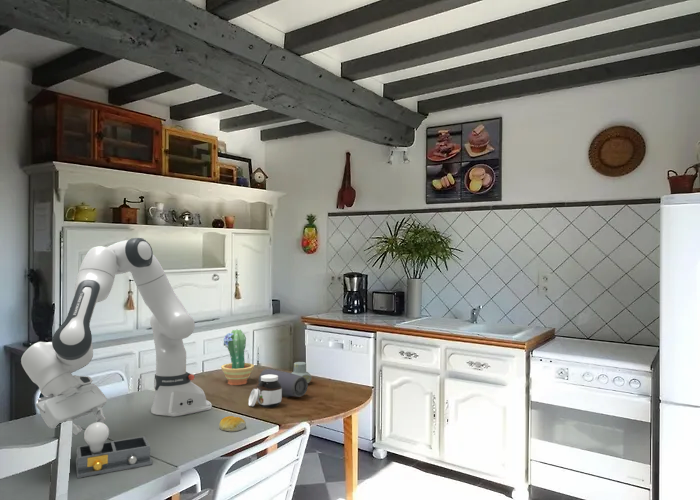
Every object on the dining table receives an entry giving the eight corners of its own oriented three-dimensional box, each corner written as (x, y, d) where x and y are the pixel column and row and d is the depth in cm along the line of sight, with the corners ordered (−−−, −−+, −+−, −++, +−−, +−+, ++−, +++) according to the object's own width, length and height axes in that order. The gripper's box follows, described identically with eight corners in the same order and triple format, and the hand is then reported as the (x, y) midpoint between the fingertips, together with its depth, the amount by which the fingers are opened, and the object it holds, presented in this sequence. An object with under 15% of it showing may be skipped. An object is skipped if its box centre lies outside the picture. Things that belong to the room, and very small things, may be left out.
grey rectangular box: (145, 450, 156) (145, 435, 156) (151, 464, 145) (152, 449, 145) (75, 462, 146) (76, 446, 146) (77, 478, 136) (77, 461, 136)
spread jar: (284, 405, 204) (284, 376, 204) (261, 411, 196) (262, 381, 196) (266, 400, 212) (266, 372, 212) (243, 405, 204) (243, 376, 204)
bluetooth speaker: (308, 397, 217) (309, 373, 217) (292, 402, 210) (293, 377, 210) (273, 388, 232) (273, 366, 232) (257, 392, 225) (257, 369, 225)
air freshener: (303, 380, 246) (303, 360, 246) (314, 384, 240) (314, 362, 240) (285, 384, 239) (285, 363, 239) (295, 387, 232) (295, 366, 233)
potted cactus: (223, 379, 247) (223, 327, 248) (255, 378, 249) (255, 327, 249) (218, 387, 232) (219, 332, 232) (252, 386, 234) (253, 332, 234)
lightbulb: (98, 466, 141) (99, 427, 141) (78, 465, 142) (78, 425, 142) (113, 457, 147) (113, 419, 147) (94, 456, 148) (94, 418, 148)
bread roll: (230, 422, 183) (231, 411, 183) (249, 427, 178) (249, 416, 178) (213, 429, 176) (213, 417, 176) (232, 434, 171) (232, 422, 171)
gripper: (40, 392, 137) (70, 432, 134) (94, 375, 157) (121, 409, 154) (25, 408, 138) (56, 447, 135) (81, 389, 158) (108, 423, 155)
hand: (91, 427), depth 145 cm, fingers open, 8 cm apart
